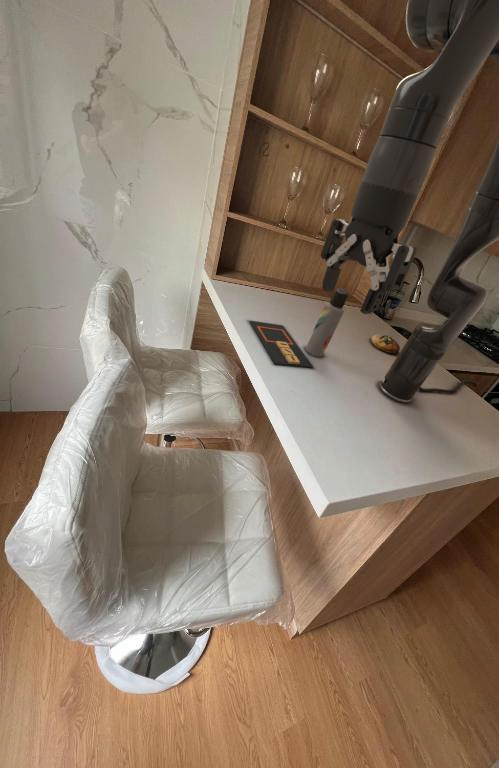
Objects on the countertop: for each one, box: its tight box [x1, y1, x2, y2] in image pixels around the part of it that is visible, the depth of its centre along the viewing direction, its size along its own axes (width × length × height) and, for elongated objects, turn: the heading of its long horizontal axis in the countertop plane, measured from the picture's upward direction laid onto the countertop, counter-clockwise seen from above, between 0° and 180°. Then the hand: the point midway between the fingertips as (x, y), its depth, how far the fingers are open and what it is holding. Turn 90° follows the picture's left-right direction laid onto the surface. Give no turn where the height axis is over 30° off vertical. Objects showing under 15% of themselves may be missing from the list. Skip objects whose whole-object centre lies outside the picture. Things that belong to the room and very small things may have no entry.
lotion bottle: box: [305, 287, 350, 358], centre depth 95 cm, size 6×6×20 cm
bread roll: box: [370, 333, 401, 354], centre depth 121 cm, size 11×11×5 cm
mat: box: [249, 320, 314, 369], centre depth 97 cm, size 24×12×1 cm, turn 17°
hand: (345, 301), depth 52 cm, fingers open, 8 cm apart
